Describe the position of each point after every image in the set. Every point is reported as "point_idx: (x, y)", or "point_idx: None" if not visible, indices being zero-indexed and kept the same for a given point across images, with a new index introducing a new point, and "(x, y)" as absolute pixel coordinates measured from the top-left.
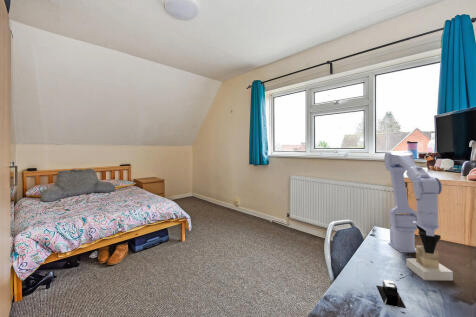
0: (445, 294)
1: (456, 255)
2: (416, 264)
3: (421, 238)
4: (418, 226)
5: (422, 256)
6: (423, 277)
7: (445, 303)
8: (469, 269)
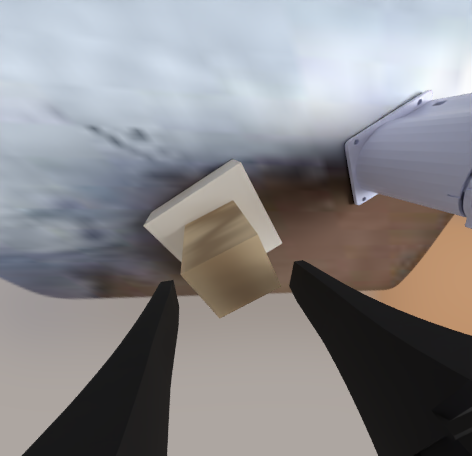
0: (98, 258)
1: (350, 272)
2: (196, 200)
3: (34, 443)
4: (451, 387)
5: (193, 243)
6: (153, 212)
7: (32, 259)
8: (286, 290)
